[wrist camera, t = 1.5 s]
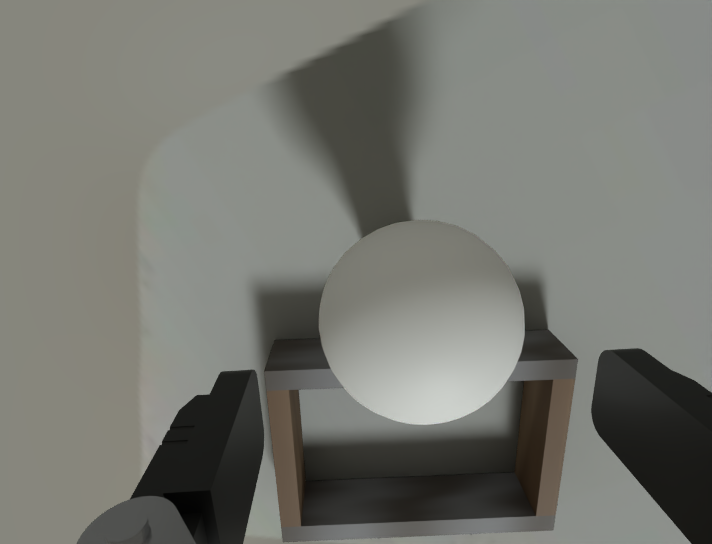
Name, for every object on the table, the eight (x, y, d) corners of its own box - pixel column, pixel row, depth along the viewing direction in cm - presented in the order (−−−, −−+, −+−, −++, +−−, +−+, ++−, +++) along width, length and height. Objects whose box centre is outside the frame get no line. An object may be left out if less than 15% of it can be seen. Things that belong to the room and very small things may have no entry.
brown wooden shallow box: (548, 329, 23) (577, 359, 20) (530, 485, 26) (553, 530, 23) (274, 340, 22) (264, 371, 20) (289, 495, 26) (282, 542, 23)
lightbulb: (313, 203, 20) (280, 285, 10) (444, 171, 20) (552, 221, 10) (345, 321, 22) (346, 494, 12) (465, 293, 22) (574, 446, 11)
